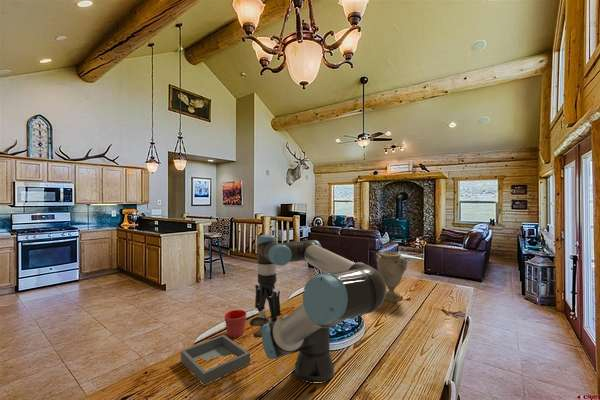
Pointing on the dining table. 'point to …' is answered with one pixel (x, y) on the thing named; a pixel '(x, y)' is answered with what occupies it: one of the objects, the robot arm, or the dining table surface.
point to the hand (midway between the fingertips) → (267, 329)
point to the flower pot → (235, 322)
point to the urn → (391, 272)
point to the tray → (214, 349)
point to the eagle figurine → (259, 322)
